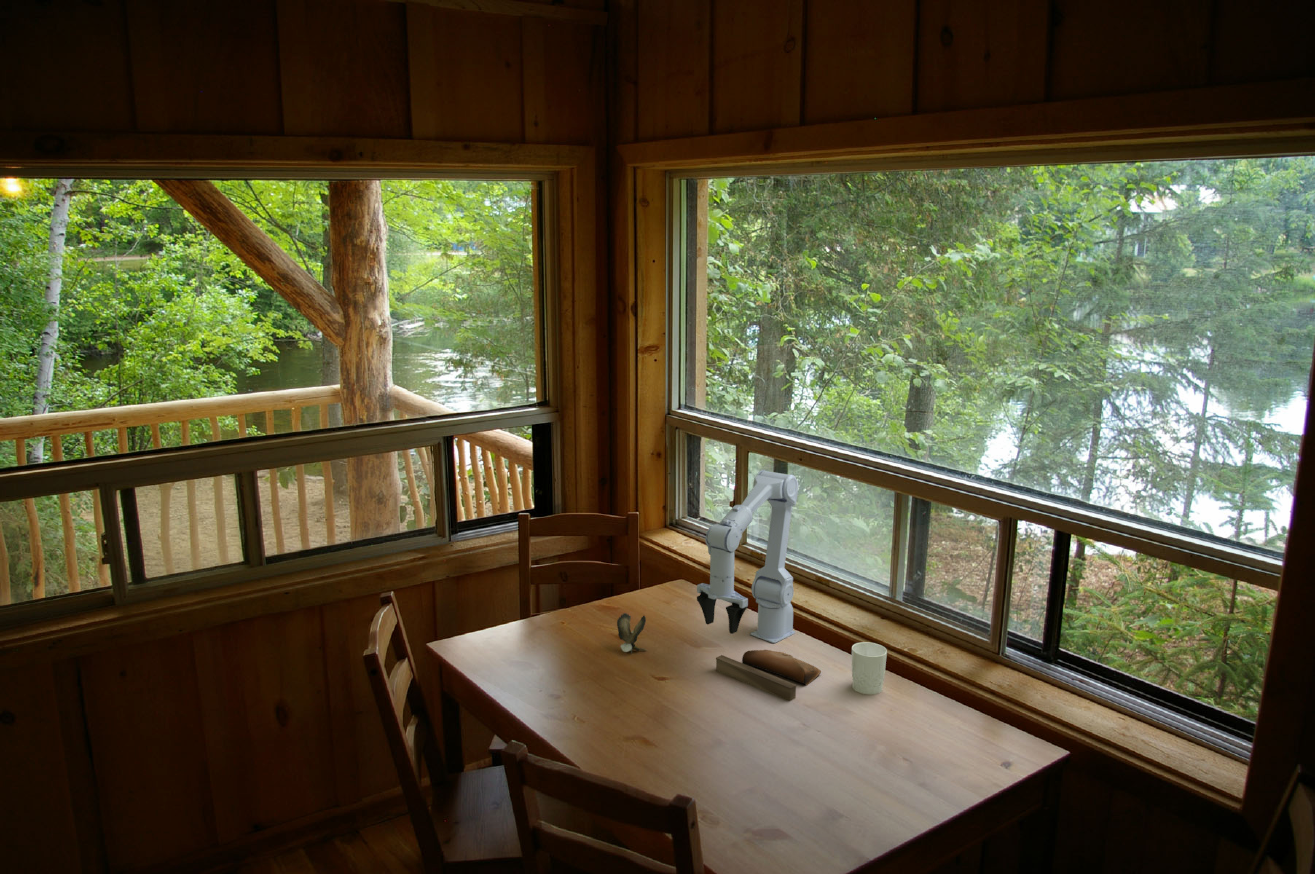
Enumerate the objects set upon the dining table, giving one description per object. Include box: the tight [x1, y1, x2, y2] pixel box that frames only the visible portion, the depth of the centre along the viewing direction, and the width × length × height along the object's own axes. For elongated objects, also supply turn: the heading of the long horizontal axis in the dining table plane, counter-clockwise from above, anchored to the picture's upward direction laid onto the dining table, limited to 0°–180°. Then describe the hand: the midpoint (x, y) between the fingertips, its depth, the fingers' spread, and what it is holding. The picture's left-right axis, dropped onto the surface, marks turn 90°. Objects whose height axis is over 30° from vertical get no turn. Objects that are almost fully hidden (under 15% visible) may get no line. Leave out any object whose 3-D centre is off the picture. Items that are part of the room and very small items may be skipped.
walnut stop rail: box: [715, 654, 797, 702], centre depth 207 cm, size 2×22×3 cm, turn 45°
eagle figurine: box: [616, 612, 648, 655], centre depth 225 cm, size 8×7×9 cm
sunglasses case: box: [741, 649, 822, 686], centre depth 214 cm, size 18×7×7 cm
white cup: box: [851, 641, 888, 695], centre depth 204 cm, size 8×8×10 cm
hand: (721, 627), depth 214 cm, fingers open, 7 cm apart
